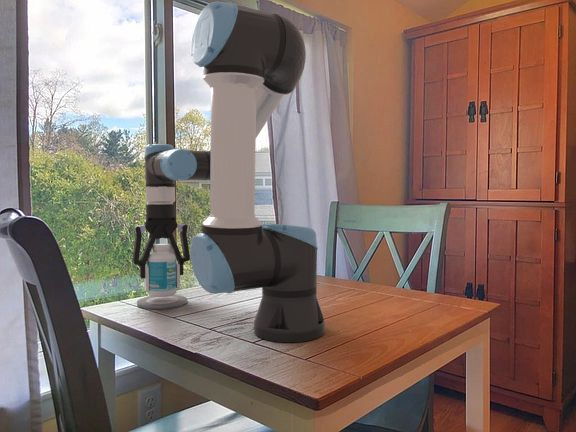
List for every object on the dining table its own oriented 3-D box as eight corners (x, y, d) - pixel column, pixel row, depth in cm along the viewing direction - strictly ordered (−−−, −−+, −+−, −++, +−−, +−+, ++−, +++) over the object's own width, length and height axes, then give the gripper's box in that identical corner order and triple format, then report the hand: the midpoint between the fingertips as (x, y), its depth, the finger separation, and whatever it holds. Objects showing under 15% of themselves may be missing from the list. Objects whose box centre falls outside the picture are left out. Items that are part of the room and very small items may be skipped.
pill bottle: (172, 298, 124) (171, 246, 124) (144, 298, 125) (143, 246, 124) (179, 291, 132) (178, 242, 131) (152, 291, 132) (151, 243, 131)
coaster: (192, 305, 125) (192, 302, 125) (141, 311, 120) (141, 308, 120) (180, 295, 137) (180, 292, 137) (133, 300, 131) (133, 297, 131)
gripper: (194, 202, 135) (195, 282, 136) (118, 203, 126) (120, 289, 127) (202, 203, 128) (203, 287, 129) (122, 204, 119) (124, 295, 120)
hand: (162, 288), depth 128 cm, fingers closed on pill bottle, 7 cm apart
